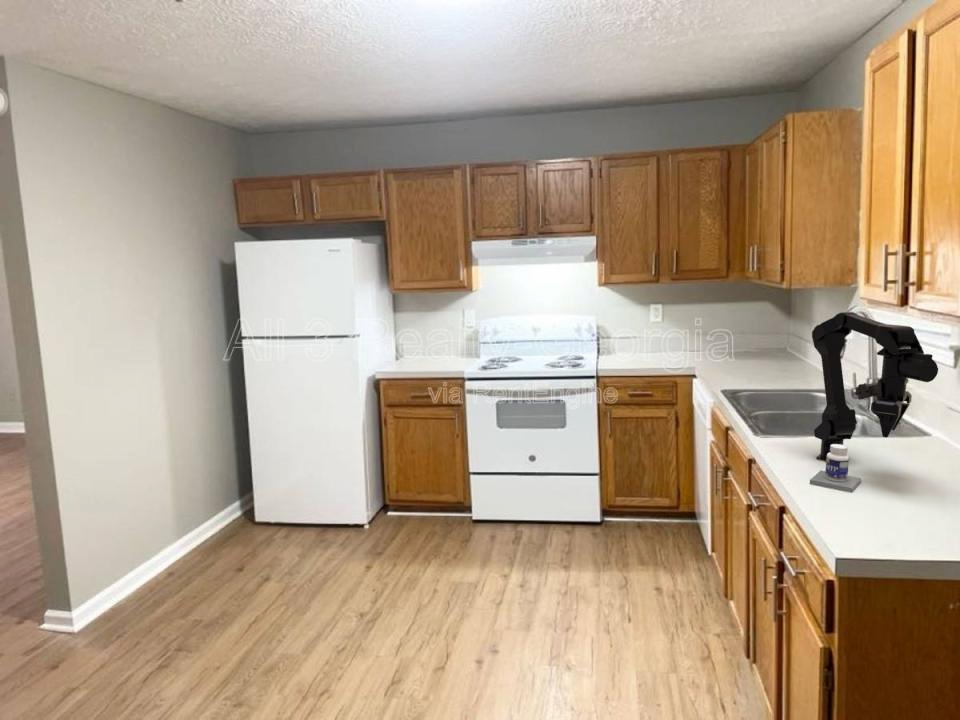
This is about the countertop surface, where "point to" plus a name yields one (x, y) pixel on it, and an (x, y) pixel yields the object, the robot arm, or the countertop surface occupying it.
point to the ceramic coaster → (835, 482)
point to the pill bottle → (837, 463)
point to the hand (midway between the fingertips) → (888, 433)
